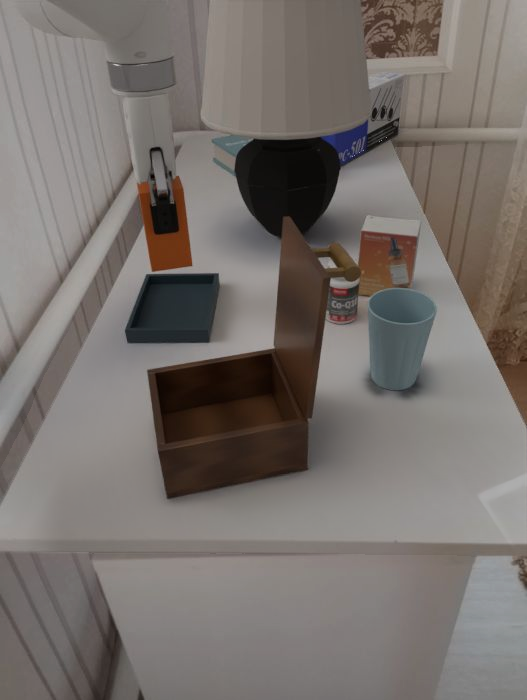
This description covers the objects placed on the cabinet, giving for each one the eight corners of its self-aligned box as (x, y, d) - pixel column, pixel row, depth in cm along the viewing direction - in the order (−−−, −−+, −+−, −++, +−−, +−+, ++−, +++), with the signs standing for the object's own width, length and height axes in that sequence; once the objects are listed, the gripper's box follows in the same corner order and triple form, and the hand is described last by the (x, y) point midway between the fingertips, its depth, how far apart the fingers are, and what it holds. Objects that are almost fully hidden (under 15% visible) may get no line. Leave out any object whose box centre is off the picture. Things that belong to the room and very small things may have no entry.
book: (213, 161, 138) (211, 139, 135) (274, 148, 144) (273, 126, 141) (259, 193, 122) (258, 168, 119) (325, 177, 128) (326, 153, 125)
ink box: (334, 171, 130) (337, 103, 122) (309, 165, 134) (310, 98, 125) (400, 134, 149) (406, 73, 141) (376, 130, 152) (381, 70, 144)
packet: (151, 272, 80) (138, 193, 73) (149, 256, 84) (136, 180, 77) (192, 266, 81) (183, 188, 74) (188, 251, 84) (178, 175, 78)
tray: (209, 342, 81) (207, 329, 79) (127, 342, 81) (124, 330, 80) (219, 284, 93) (218, 272, 92) (148, 285, 93) (146, 273, 92)
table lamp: (203, 270, 97) (172, -19, 73) (218, 203, 118) (198, -37, 94) (372, 268, 95) (397, -28, 72) (356, 200, 117) (371, -44, 93)
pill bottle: (330, 327, 83) (332, 274, 78) (318, 309, 86) (319, 257, 81) (362, 321, 83) (366, 268, 78) (349, 304, 87) (352, 252, 82)
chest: (167, 499, 60) (157, 451, 55) (155, 415, 69) (146, 369, 65) (308, 469, 62) (308, 422, 58) (277, 393, 72) (276, 347, 68)
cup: (351, 384, 73) (356, 312, 66) (375, 351, 78) (382, 281, 72) (411, 404, 69) (423, 330, 63) (432, 368, 75) (445, 297, 68)
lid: (323, 278, 49) (381, 274, 50) (283, 216, 59) (332, 214, 60) (305, 419, 58) (355, 413, 59) (273, 345, 67) (316, 340, 69)
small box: (354, 295, 89) (359, 230, 83) (361, 277, 93) (365, 213, 87) (409, 302, 87) (418, 236, 81) (413, 283, 91) (422, 219, 85)
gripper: (107, 63, 74) (132, 203, 85) (112, 96, 61) (140, 257, 72) (168, 57, 75) (184, 196, 86) (185, 89, 62) (202, 248, 73)
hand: (164, 222), depth 79 cm, fingers closed on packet, 4 cm apart
